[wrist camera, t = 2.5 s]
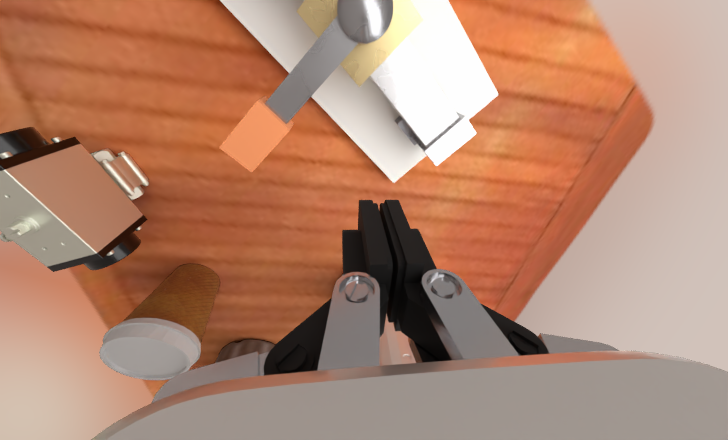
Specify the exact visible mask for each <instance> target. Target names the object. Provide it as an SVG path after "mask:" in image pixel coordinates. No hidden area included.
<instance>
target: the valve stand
mask: <svg viewBox="0 0 728 440" xmlns="http://www.w3.org/2000/svg"><path fill="white" fill-rule="evenodd" d="M220 1H221V2H222V3H223V4H224V5H225V6H226V7H227V9H228V10H229V11H230V12H231V13H232V14H233V15H234V16H235V17H236V18H237V19H238V20H239V21H240V22H241V23H242V24H243V25H244V26H245V27H246V28H247V30H248V31H249V32H250V33H251V34H252V35H253V36H254V37H255V38H256V39H257V40H258V41H259V42H260V43H261V44H262V45H263V46H264V47H265V48H266V49H267V51H268V52H269V53H270V54H271V55H272V56H273V57H274V58H275V59H276V60H277V61H278V62H279V63H280V64H281V65H282V66H283V67H284V68H285V69H286V70H287V72H288V73H290V72H291V71H292V70H293V69H294V67H295V66H296V65H297V64H298V63H299V61H300V60H301V59H302V58H303V56H304V55H305V54H306V53H307V52H308V50H309V49H310V48H311V47H312V46H313V44H314V43H315V42H316V41H317V39H318V38H319V37H320V36H321V35H322V33H323V32H324V31H325V30H326V28H327V27H328V26H329V25H330V24H331V22H332V21H333V20H334V19H335V18H336V16H337V2H338V0H220ZM498 95H499V94H498V92H497V90H496V88H495V87H494V85H493V83H492V81H491V79H490V77H489V75H488V74H487V72H486V70H485V68H484V66H483V64H482V62H481V61H480V59H479V57H478V55H477V53H476V51H475V49H474V48H473V46H472V44H471V42H470V40H469V38H468V36H467V35H466V33H465V31H464V29H463V27H462V25H461V23H460V22H459V20H458V18H457V16H456V14H455V12H454V10H453V8H452V7H451V5H450V3H449V1H448V0H393V16H392V20H391V23H390V25H389V28H388V29H387V31H386V32H385V33H384V35H383V36H382V37H381V38H379V39H378V40H376V41H374V42H371V43H368V44H357V45H356V46H355V48H354V49H353V50H352V51H351V52H350V53H349V54H348V55H347V57H346V58H345V59H344V60H343V61H342V62H341V63H340V64H339V66H338V67H337V68H336V69H335V70H334V71H333V72H332V73H331V75H330V76H329V77H328V78H327V79H326V80H325V81H324V82H323V84H322V85H321V86H320V87H319V88H318V89H317V90H316V91H315V93H314V94H313V95H312V96H311V97H312V98H313V99H314V100H315V101H316V102H317V103H318V104H319V105H320V106H321V107H322V108H323V109H324V110H325V111H326V112H327V114H328V115H329V116H330V117H331V118H332V119H333V120H334V121H335V122H336V123H337V124H338V125H339V126H340V127H341V128H342V129H343V130H344V131H345V132H346V133H347V135H348V136H349V137H350V138H351V139H352V140H353V141H354V142H355V143H356V144H357V145H358V146H359V147H360V148H361V149H362V150H363V151H364V152H365V153H366V154H367V156H368V157H369V158H370V159H371V160H372V161H373V162H374V163H375V164H376V165H377V166H378V167H379V168H380V169H381V170H382V171H383V172H384V173H385V174H386V175H387V177H388V178H389V179H390V180H391V181H392V182H393V183H394V182H396V181H397V180H398V179H399V178H400V177H402V176H403V175H404V174H405V173H406V172H407V171H409V170H410V169H411V168H412V167H413V166H415V165H416V164H417V163H418V162H419V161H421V160H422V159H423V158H424V157H425V156H426V155H427V156H428V158H429V159H430V160H431V161H432V162H433V163H434V164H435V165H436V166H437V165H439V164H440V163H441V162H442V161H444V160H445V159H446V158H447V157H449V156H450V155H451V154H452V153H453V152H455V151H456V150H457V149H458V148H460V147H461V146H462V145H463V144H464V143H466V142H467V141H468V140H469V139H471V138H472V137H473V136H474V135H476V134H477V133H476V131H475V130H474V128H473V127H472V125H471V124H470V122H469V121H468V120H469V119H470V118H472V117H473V116H474V115H475V114H476V113H478V112H479V111H480V110H481V109H482V108H483V107H485V106H486V105H487V104H488V103H489V102H491V101H492V100H493V99H494V98H495V97H496V96H498Z"/></svg>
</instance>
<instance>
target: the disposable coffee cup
mask: <svg viewBox="0 0 728 440" xmlns="http://www.w3.org/2000/svg"><path fill="white" fill-rule="evenodd" d="M219 286H220V280H219V277H218V276H217V274H216V273H215V272H214V271H212V270H211V269H209V268H207V267H205V266H202V265H198V264H185V265H182V266H179V267H178V268H176V269H175V271H174V272H173V273H172V274H171V275H170V276H169V277H167V278H166V279H165V280H164V281H163V282H162V283H161V284H160V285H159V286H158V287H157V288H156V289H155V290H154V291H153V292H152V293H151V294H150V295H149V296H148V297H147V298H146V299H145V300H144V301H143V302H142V303H141V304H140V305H139V306H138V307H137V308H136V309H135V310H134V311H133V312H132V313H131V314H130V315H129V316H128V317H127V318H126V319H125V320H124V321H123V322H121V323H119V324H118V325H116V326H115V327H113V328H111V329H110V330H109V331H108V332H107V333H106V334H105V336H104V338H103V345H102V347H101V349H100V352H99V353H100V358H101V359H102V361H103V362H104V363H105V364H106V365H107V366H108V367H110V368H111V369H113V370H115V371H116V372H119V373H121V374H123V375H126V376H130V377H134V378H138V379H144V380H167V379H172V378H173V377H174V376H176V375H179V374H181V373H183V372H186V371H188V370H189V369H190V367H191V366H192V365H193V364H194V363H196V362H197V360H198V359H199V357H200V353H201V349H200V348H201V340H202V337H203V334H204V331H205V329H206V325H207V322H208V319H209V316H210V313H211V309H212V307H213V304H214V301H215V298H216V294H217V291H218V288H219Z"/></svg>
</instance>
